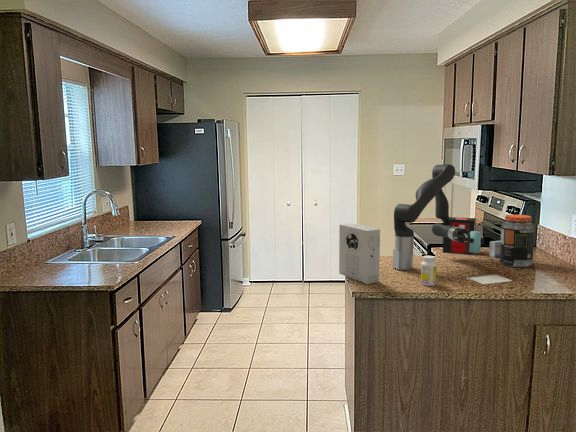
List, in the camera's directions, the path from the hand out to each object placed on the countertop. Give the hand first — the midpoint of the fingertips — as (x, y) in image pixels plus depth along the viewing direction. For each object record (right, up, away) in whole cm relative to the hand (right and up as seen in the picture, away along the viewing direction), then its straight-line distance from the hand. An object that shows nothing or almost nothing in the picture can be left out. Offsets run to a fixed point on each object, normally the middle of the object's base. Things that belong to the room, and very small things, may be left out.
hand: (478, 240), depth 230 cm
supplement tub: (+28, -14, +19) cm, 36 cm away
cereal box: (-59, -18, -3) cm, 61 cm away
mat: (+2, -18, -8) cm, 20 cm away
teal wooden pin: (0, -6, +3) cm, 6 cm away
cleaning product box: (+8, -10, +49) cm, 50 cm away
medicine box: (+26, -11, +38) cm, 47 cm away
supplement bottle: (-29, -19, -14) cm, 37 cm away
